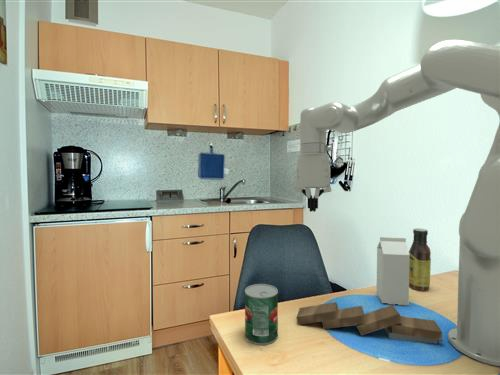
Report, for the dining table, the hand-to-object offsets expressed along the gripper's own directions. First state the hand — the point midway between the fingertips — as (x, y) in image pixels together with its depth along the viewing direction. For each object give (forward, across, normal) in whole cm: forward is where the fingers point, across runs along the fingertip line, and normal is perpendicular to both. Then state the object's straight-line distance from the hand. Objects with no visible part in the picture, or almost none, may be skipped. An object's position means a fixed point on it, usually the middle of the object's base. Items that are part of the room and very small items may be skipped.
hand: (312, 210), depth 84 cm
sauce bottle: (+27, -33, -18) cm, 46 cm away
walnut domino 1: (+26, +2, +14) cm, 30 cm away
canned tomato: (+27, +10, +24) cm, 37 cm away
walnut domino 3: (+26, -12, +15) cm, 32 cm away
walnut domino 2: (+26, -4, +14) cm, 30 cm away
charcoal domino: (+27, -19, +14) cm, 35 cm away
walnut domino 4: (+25, -20, +13) cm, 34 cm away
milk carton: (+27, -23, -6) cm, 36 cm away
